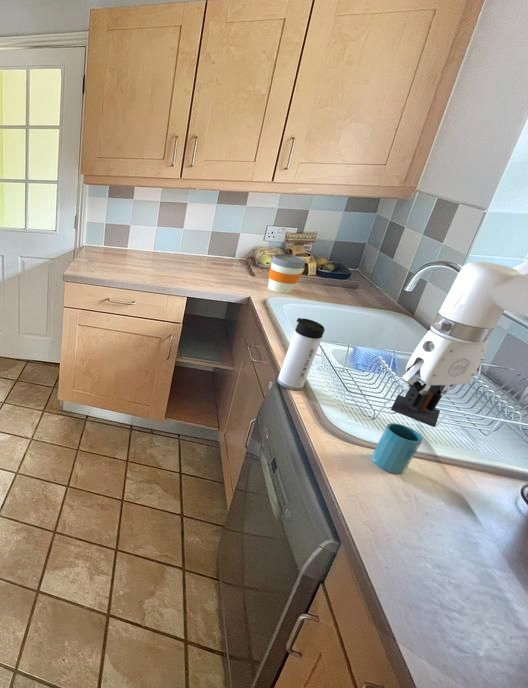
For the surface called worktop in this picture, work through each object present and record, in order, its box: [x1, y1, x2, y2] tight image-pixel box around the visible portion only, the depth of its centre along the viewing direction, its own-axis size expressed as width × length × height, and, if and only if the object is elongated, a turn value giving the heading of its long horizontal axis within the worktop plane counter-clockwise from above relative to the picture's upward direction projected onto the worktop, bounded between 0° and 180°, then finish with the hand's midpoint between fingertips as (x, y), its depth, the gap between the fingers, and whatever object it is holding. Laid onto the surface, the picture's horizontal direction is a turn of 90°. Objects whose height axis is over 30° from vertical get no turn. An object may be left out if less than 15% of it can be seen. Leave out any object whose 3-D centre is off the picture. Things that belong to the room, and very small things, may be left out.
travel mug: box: [277, 317, 326, 391], centre depth 115 cm, size 6×7×20 cm
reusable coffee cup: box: [267, 253, 306, 294], centre depth 183 cm, size 13×13×15 cm
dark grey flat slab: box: [390, 390, 441, 428], centre depth 85 cm, size 7×7×5 cm
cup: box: [370, 422, 423, 475], centre depth 90 cm, size 6×6×9 cm
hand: (417, 406), depth 85 cm, fingers closed on dark grey flat slab, 2 cm apart
